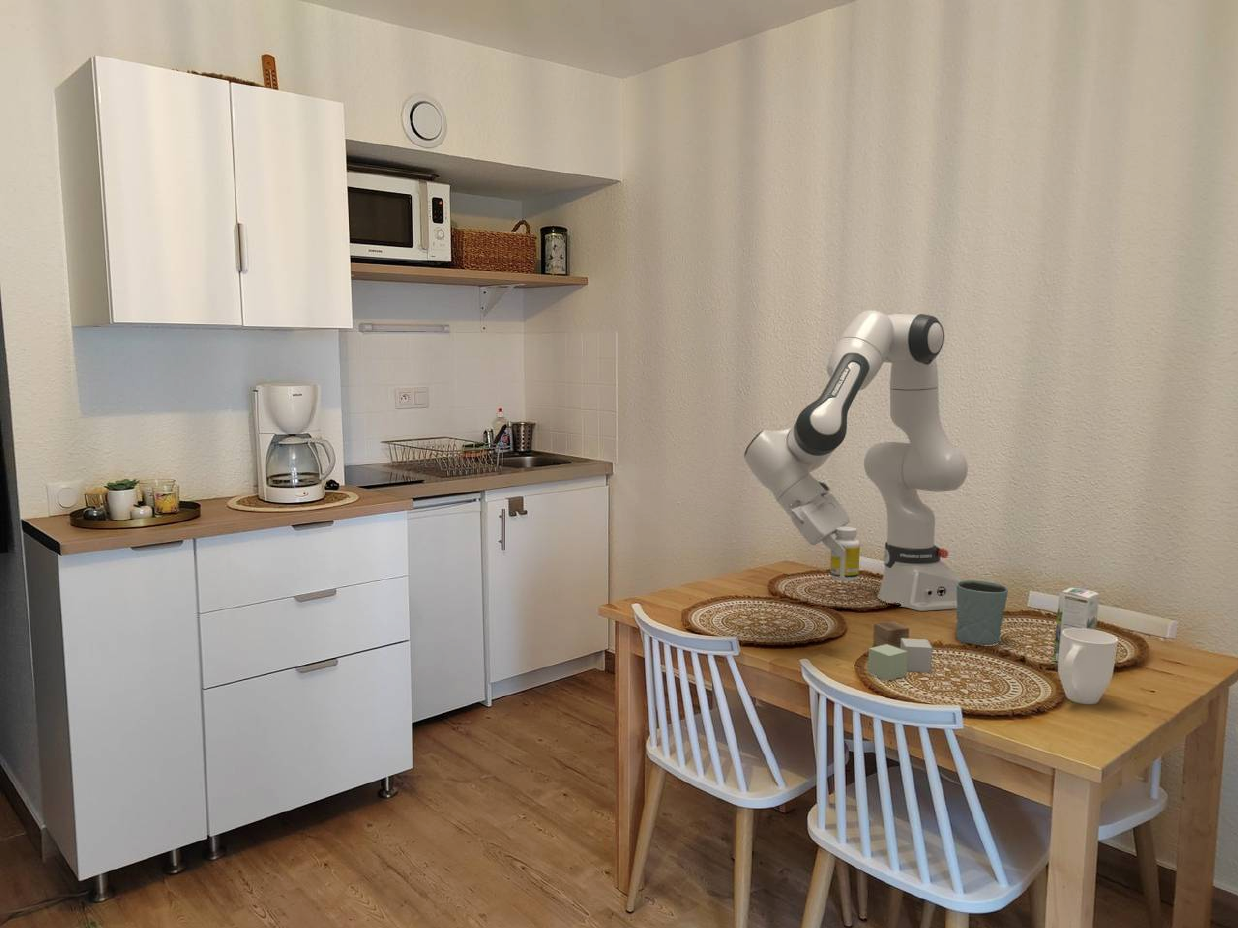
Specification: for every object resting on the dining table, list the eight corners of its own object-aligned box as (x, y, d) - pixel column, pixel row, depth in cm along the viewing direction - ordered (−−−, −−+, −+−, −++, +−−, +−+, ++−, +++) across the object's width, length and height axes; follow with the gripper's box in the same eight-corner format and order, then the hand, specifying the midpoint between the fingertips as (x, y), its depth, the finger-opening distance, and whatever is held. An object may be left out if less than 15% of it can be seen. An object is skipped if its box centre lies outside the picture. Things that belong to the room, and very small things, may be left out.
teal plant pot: (943, 635, 197) (946, 581, 196) (981, 631, 200) (985, 578, 199) (975, 649, 188) (978, 593, 186) (1015, 645, 191) (1018, 590, 189)
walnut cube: (893, 644, 191) (894, 621, 190) (908, 651, 186) (909, 628, 186) (873, 646, 190) (874, 623, 189) (887, 654, 185) (888, 630, 184)
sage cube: (885, 668, 176) (886, 644, 176) (906, 676, 172) (907, 651, 171) (867, 673, 173) (868, 648, 173) (888, 681, 169) (889, 655, 169)
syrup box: (1063, 655, 185) (1068, 586, 183) (1094, 662, 181) (1099, 591, 179) (1052, 661, 181) (1057, 591, 179) (1084, 669, 177) (1089, 597, 175)
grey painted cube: (925, 663, 179) (927, 639, 179) (931, 672, 174) (932, 647, 174) (899, 662, 180) (900, 638, 179) (904, 671, 175) (905, 646, 174)
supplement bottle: (860, 576, 185) (863, 527, 183) (855, 582, 180) (857, 532, 178) (833, 573, 187) (835, 524, 186) (827, 579, 182) (829, 529, 181)
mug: (1068, 685, 168) (1075, 623, 166) (1118, 701, 161) (1126, 636, 159) (1038, 700, 160) (1045, 635, 158) (1090, 717, 154) (1098, 650, 152)
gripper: (798, 495, 175) (846, 550, 172) (828, 482, 193) (872, 532, 190) (775, 516, 178) (822, 570, 175) (807, 501, 196) (850, 550, 192)
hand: (848, 550), depth 182 cm, fingers closed on supplement bottle, 6 cm apart
